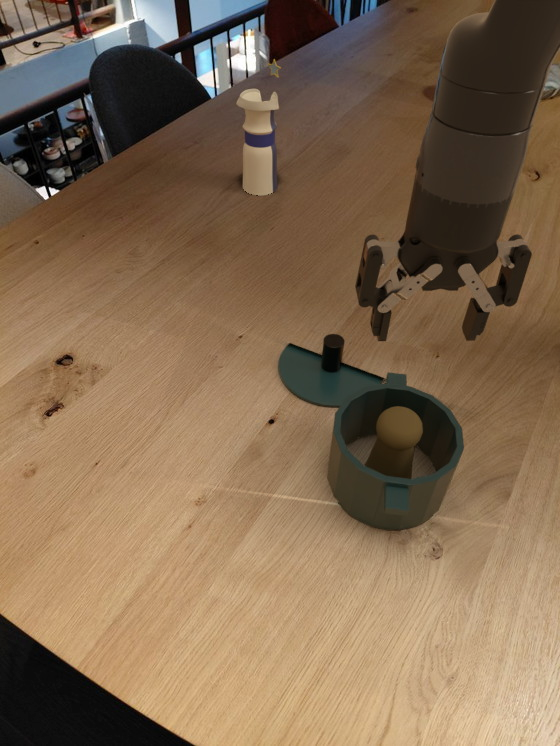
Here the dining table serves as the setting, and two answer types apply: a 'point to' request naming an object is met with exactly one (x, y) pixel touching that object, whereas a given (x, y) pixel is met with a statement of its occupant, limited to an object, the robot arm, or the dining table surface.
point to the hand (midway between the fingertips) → (424, 335)
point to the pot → (386, 493)
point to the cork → (395, 442)
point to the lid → (322, 373)
